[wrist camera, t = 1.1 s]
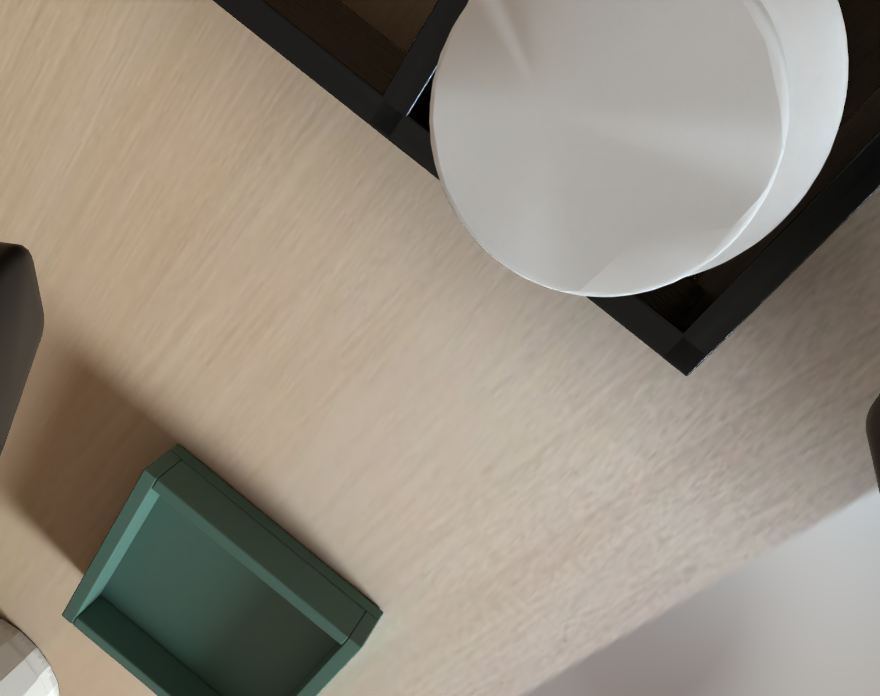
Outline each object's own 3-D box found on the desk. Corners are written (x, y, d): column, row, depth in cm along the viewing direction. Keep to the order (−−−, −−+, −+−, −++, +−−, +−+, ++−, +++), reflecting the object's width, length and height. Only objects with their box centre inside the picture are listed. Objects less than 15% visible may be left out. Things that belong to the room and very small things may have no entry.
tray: (384, 612, 31) (361, 648, 30) (270, 733, 36) (245, 770, 35) (177, 442, 32) (143, 468, 30) (93, 586, 37) (60, 615, 35)
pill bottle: (652, -144, 19) (529, -290, 9) (884, 15, 19) (1019, 41, 9) (504, 97, 22) (294, 183, 12) (699, 237, 22) (644, 441, 12)
